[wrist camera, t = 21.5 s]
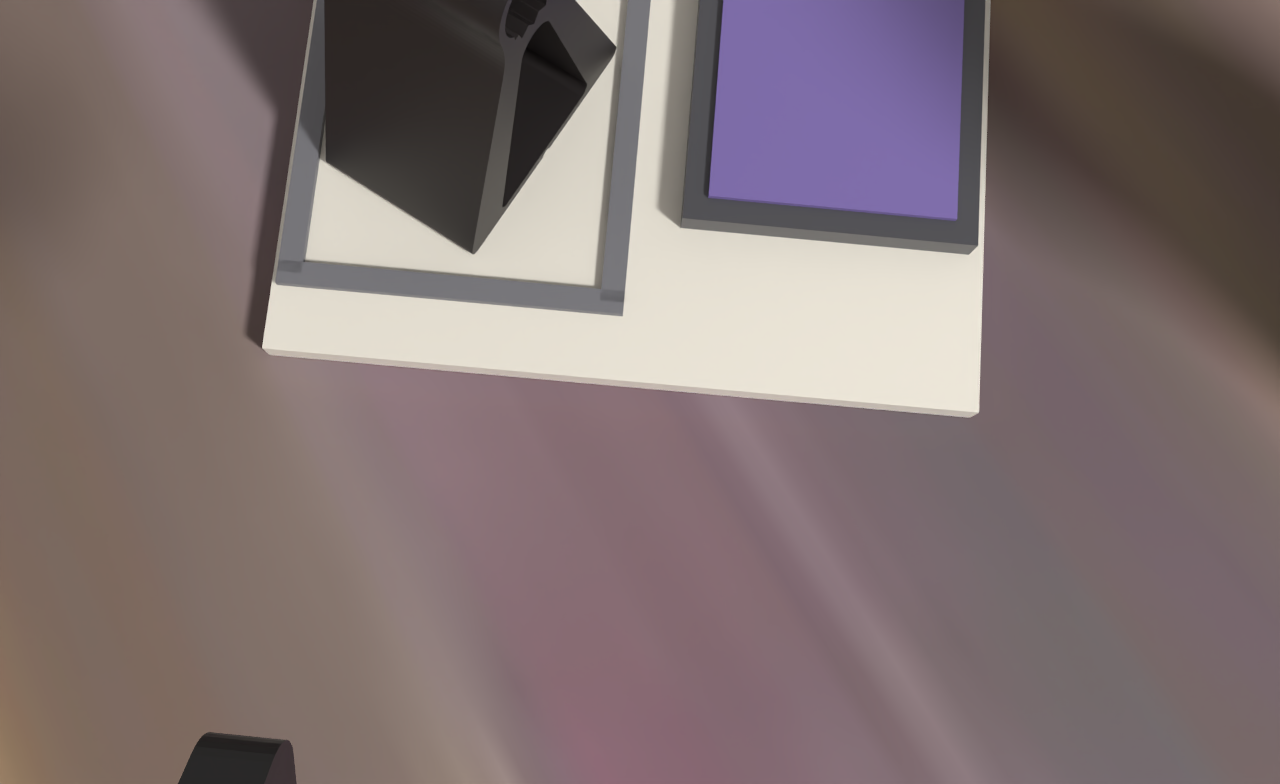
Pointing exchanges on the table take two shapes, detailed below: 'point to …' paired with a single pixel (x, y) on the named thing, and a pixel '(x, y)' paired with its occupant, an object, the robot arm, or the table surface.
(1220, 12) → the table surface
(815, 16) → the ink pad
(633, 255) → the white flat board
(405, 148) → the phone stand
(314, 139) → the marked box
